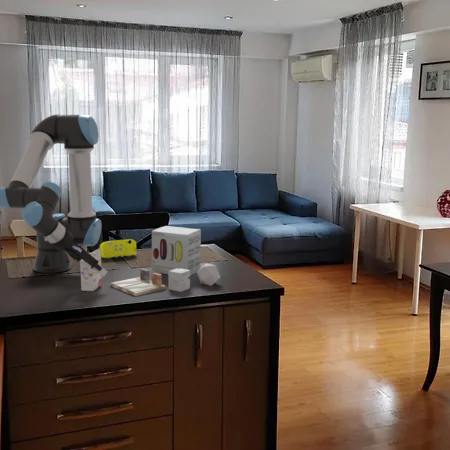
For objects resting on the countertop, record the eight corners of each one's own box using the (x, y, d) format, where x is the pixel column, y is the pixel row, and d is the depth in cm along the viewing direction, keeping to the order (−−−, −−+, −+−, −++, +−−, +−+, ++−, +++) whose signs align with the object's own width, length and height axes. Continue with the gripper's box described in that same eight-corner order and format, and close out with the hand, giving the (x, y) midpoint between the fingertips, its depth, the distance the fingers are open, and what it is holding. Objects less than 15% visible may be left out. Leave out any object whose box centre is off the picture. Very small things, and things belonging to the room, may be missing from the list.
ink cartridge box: (90, 284, 227) (89, 247, 224) (102, 285, 226) (101, 248, 223) (80, 290, 219) (79, 252, 216) (92, 291, 218) (91, 253, 215)
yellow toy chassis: (103, 259, 267) (102, 242, 265) (99, 257, 272) (99, 239, 270) (136, 256, 274) (136, 239, 273) (132, 253, 279) (132, 236, 278)
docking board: (110, 285, 226) (110, 272, 225) (140, 279, 235) (140, 267, 234) (135, 296, 213) (135, 282, 212) (166, 289, 223) (166, 275, 222)
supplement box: (150, 272, 245) (150, 230, 242) (165, 265, 258) (165, 225, 254) (188, 277, 239) (188, 234, 236) (201, 270, 251) (201, 228, 248)
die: (224, 285, 231) (218, 263, 235) (217, 279, 223) (212, 257, 227) (204, 291, 232) (199, 269, 236) (197, 286, 225) (192, 263, 228)
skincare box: (181, 292, 219) (181, 273, 218) (168, 289, 222) (168, 270, 221) (190, 288, 224) (190, 269, 223) (177, 285, 227) (177, 267, 226)
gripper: (38, 239, 216) (78, 274, 230) (66, 249, 201) (107, 285, 215) (51, 223, 219) (90, 258, 232) (79, 232, 203) (119, 269, 217)
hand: (98, 271), depth 223 cm, fingers closed on ink cartridge box, 8 cm apart
